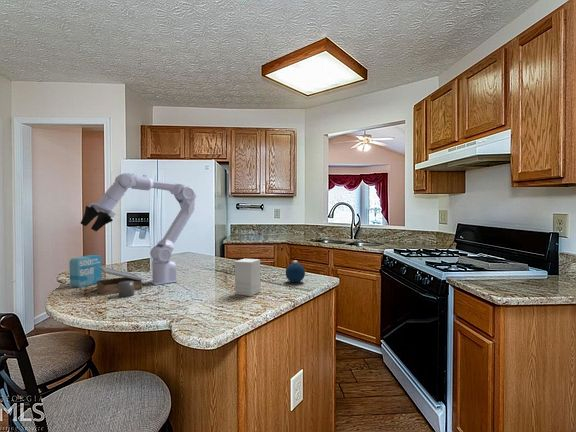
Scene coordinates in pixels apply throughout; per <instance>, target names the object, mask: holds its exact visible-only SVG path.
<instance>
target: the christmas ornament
mask: <svg viewBox="0 0 576 432" xmlns="http://www.w3.org/2000/svg"><path fill="white" fill-rule="evenodd" d="M305 276H306V270H305V268H304V266H303V265H302V264H300V263H299V262H298V260H292V263H291V264H289V265H287V267H286V269H285V277H286V279H287V280H288V281H289V282H291V283H297V284H298V283H299V282H302V281H303V279H304V278H305Z"/></svg>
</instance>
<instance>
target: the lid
mask: <svg viewBox="0 0 576 432" xmlns="http://www.w3.org/2000/svg"><path fill="white" fill-rule="evenodd" d="M99 269H100V270H101V271H102V273H104V274H109V275H113V276H116V277H120V278H122V277H126V278H131V279H136V280H141V281H142V280H143V278H142V277H140V276H138V275H137V274H136V273H132V272H127V271H123V270H118V269H112V268H108V267H103V266H102V267H100V266H99Z"/></svg>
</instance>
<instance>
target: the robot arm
mask: <svg viewBox="0 0 576 432" xmlns="http://www.w3.org/2000/svg"><path fill="white" fill-rule="evenodd" d="M130 188H131V189H132V190H140V191H150V190H151V189H156V190H162V191H168V192H169V193H170V194H171V195H173V196H174V198H175V200H176V201H177V203H178V204H179V207H180V210H179V211H178V213H177V214H176V217H175V218H174V220H173V222H172V223H171V225H170V227H169V228H168V230H167V231H166V233H164V236H163V238H162V239H161V240H159V241H158V243H157V244H156V245H155V246H153V247H152V248H151V250H150V253H149V255H150V258H152V262H151V267H152V270H151V271H152V274H151V275H152V280H149V283H150V284H153V285H154V286H157V285H165V284H171V283H176V282H178V281H177V265H176V262H175V261H174V260H171V259H172V255H173V251H174V249H175V246H174V245H175V243H176V241H177V240H178V239H179V236H180V235H181V233H182V231H183V230H184V227H185V226H186V224H187V223H188V222H189V219H190V218H191V217H192V215H193V213H194V211H195V205H196V204H195V203H196V202H195V201H196V198H197V195H196V191H195V189H194V188H193V187H191V186H189V185H186V186H185V184H181V183H176V182H167V181H160V180H159V181H158V180H157V181H156V180H153V179H152V178H151V177H150V176H148V175H146V174H143V175H136V174H134V173H130V172H126V173H125V172H124V173H122V174H118V175H117V176H116V177H115V179H114V182H113V183H112V184H111V185H110V186H109V188H107V190H106V191H105V193H104V194H103V195H102V196H101V198H100V199H99V200H98V202H95V201H94V202H91V203H90V204H89V205H86V206H85V207H84V208H85V209H84V213H83V217H82V218H81V221H80V225H82V226H84V227H87V226H88V225H89V224H90V223H91V222H92V221H93V220H95V222H94V223H93V224H92V226H91V228H90V230H92V231H94V232H98V231H99V230H100V229H102V228H103V227H104V226H106V225H107V224H109V223H112V222H113V221H114V220H113V219H112V218H114V217H115V216H116V215H117V214H116V212H114V211H113V209H114V208H115V207H116V206H117V204H118V203H119V202H120V200H121V199H122V197H123V196H124V195H125V193H126V192H127V190H128V189H130ZM95 218H96V219H95Z"/></svg>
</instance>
